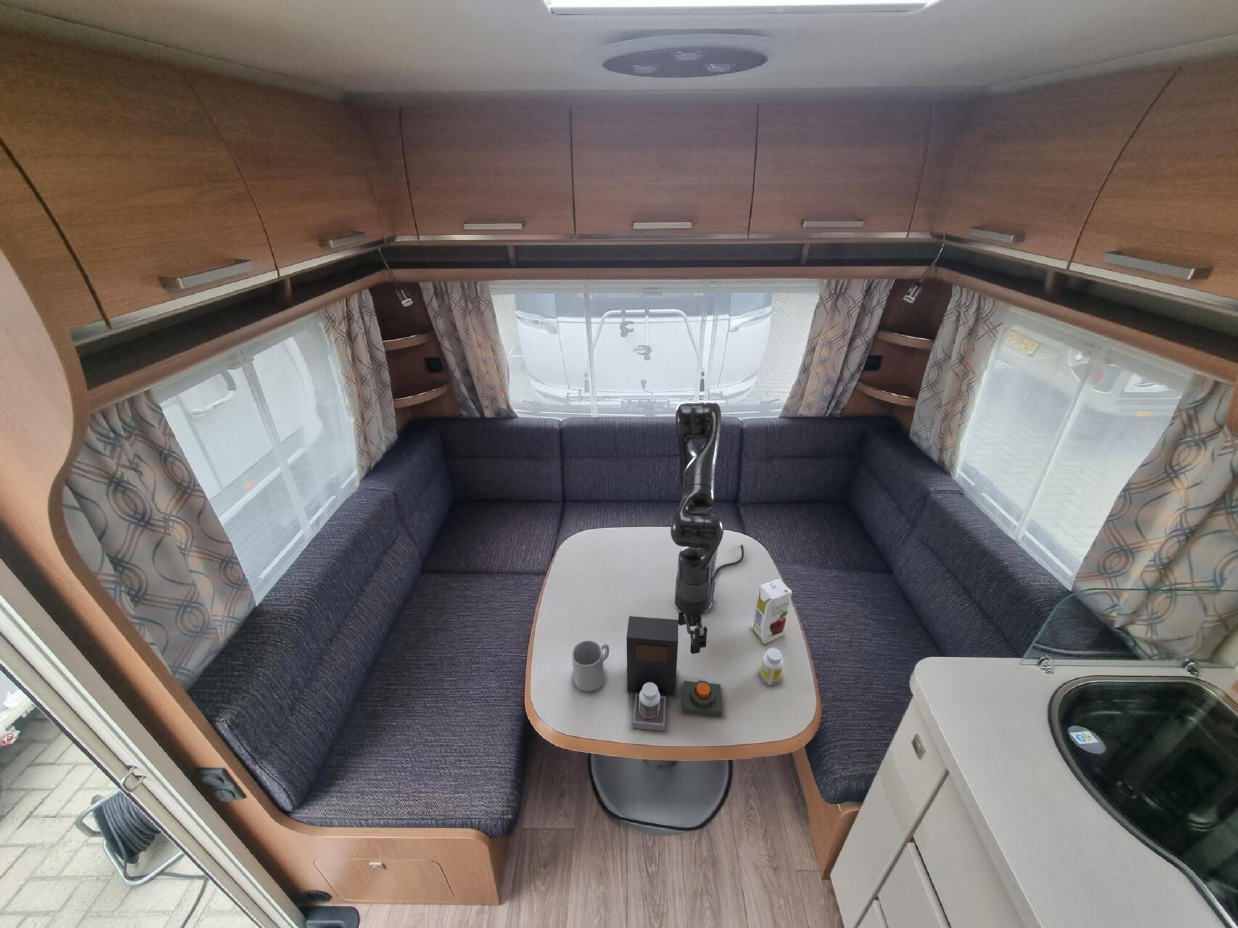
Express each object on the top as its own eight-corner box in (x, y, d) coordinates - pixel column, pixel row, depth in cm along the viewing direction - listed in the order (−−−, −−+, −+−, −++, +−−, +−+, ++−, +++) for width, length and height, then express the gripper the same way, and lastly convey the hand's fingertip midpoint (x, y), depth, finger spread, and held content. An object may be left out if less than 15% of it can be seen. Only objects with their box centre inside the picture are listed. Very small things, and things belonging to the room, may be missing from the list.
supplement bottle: (780, 671, 139) (785, 648, 134) (779, 688, 134) (784, 665, 129) (760, 666, 140) (765, 643, 135) (758, 682, 136) (763, 659, 131)
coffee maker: (629, 669, 140) (629, 615, 129) (675, 673, 139) (678, 619, 128) (623, 726, 126) (621, 672, 114) (674, 732, 124) (677, 677, 113)
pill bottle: (662, 719, 126) (663, 696, 121) (642, 724, 125) (642, 700, 120) (656, 700, 131) (656, 677, 126) (636, 705, 130) (636, 681, 125)
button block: (683, 685, 135) (684, 676, 133) (719, 689, 134) (721, 679, 132) (683, 712, 129) (683, 703, 127) (721, 716, 127) (723, 707, 125)
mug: (588, 698, 133) (585, 672, 127) (567, 678, 138) (564, 653, 132) (619, 670, 140) (618, 644, 134) (598, 652, 145) (597, 627, 140)
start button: (695, 685, 131) (696, 681, 130) (709, 686, 131) (709, 682, 130) (696, 698, 128) (696, 693, 127) (710, 699, 128) (710, 695, 127)
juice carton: (747, 628, 152) (755, 583, 142) (770, 619, 155) (779, 575, 145) (763, 646, 146) (772, 601, 136) (786, 637, 149) (796, 592, 139)
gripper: (666, 569, 114) (664, 618, 122) (687, 615, 102) (684, 666, 110) (696, 564, 115) (692, 612, 124) (721, 609, 103) (715, 658, 112)
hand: (688, 637), depth 117 cm, fingers open, 8 cm apart
